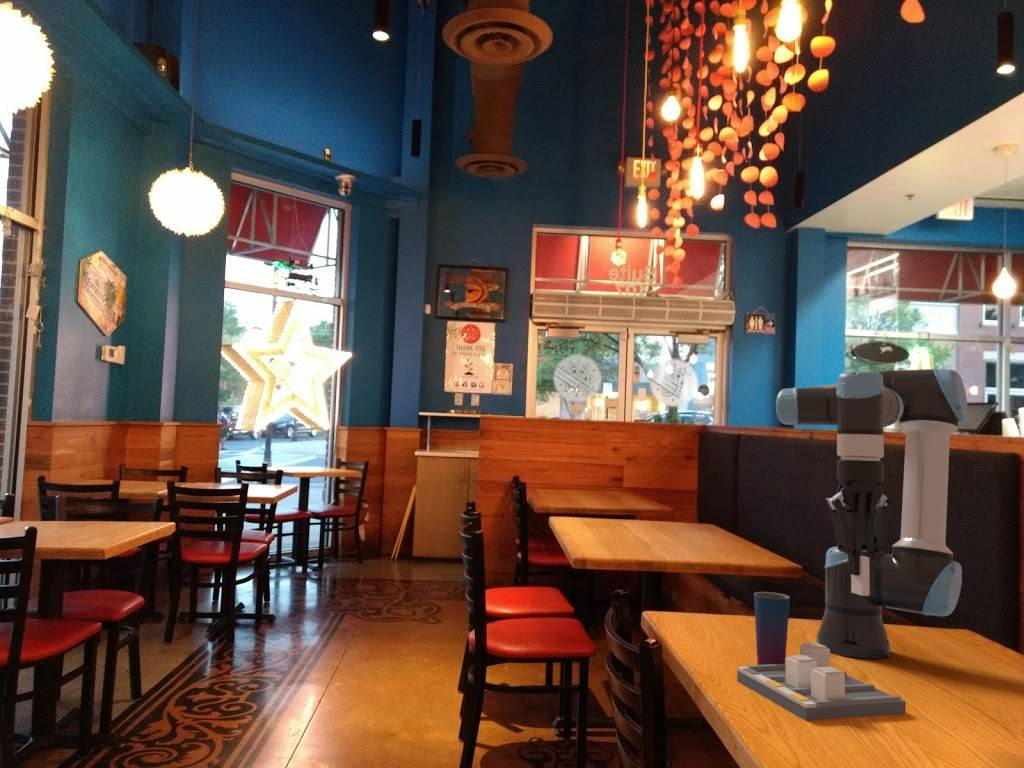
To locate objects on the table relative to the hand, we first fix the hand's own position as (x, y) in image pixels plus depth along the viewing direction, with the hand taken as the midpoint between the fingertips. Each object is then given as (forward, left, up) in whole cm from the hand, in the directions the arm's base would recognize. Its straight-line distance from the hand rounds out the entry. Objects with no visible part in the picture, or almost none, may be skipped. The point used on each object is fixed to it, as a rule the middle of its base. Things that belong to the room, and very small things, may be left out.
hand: (860, 593), depth 129 cm
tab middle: (+7, -7, -18) cm, 20 cm away
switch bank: (+3, -7, -20) cm, 21 cm away
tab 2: (+7, 0, -18) cm, 19 cm away
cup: (+3, -21, -20) cm, 29 cm away
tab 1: (-2, -14, -18) cm, 22 cm away
